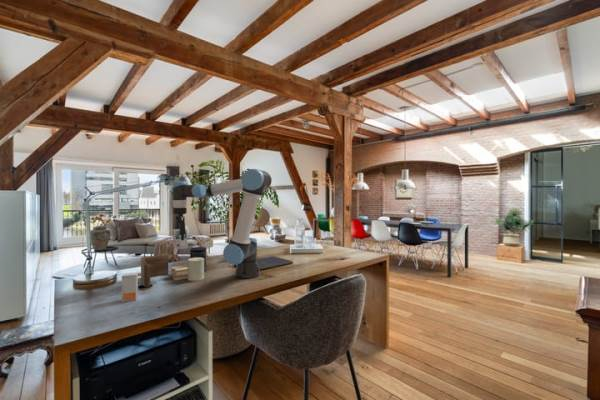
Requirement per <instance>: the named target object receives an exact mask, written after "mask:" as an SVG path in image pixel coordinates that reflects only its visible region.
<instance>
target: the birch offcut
mask: <svg viewBox="0 0 600 400" xmlns="http://www.w3.org/2000/svg"><path fill="white" fill-rule="evenodd" d="M170 273H173V274H175V275H183V274H188V266H185V265H179V266H173V267H171V268H170Z"/></svg>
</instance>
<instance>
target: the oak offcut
mask: <svg viewBox="0 0 600 400" xmlns="http://www.w3.org/2000/svg"><path fill="white" fill-rule="evenodd" d="M170 273H171V272H170ZM170 275H171V278H172V279H173V281H180V280H185V279H186V280H188V274H183V275H175V274H173V273H171V274H170Z"/></svg>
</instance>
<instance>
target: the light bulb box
mask: <svg viewBox="0 0 600 400" xmlns="http://www.w3.org/2000/svg"><path fill="white" fill-rule="evenodd" d="M185 232H186V233H185V246H180V239H179V233H180V230H179V229H175V228H173V229H172V239H173V240H172V242H173V248H174V249H175V250H184V249H188V247H189V245H188V229H185Z"/></svg>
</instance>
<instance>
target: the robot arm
mask: <svg viewBox="0 0 600 400" xmlns="http://www.w3.org/2000/svg"><path fill="white" fill-rule="evenodd" d="M241 176H242V177H241V178H238V179H234V180H233V179H232V180H227V181H222V182H218V183H217V182H216V183H212V184H206V185H205V184H199V183H198V184H197V183H196V184H187V182H186V181H179V180H178V181H173V182H172V202H171V204H172V206H173V208H172V214H173V215H175V216H174V217H175V223H174V224H175V225H174V229H179V230H180V233H179V239H180V246H185V233H186V232H185V230H186V221H185V218H186V217H185V216H184V215H187V212H188V211H187V209H188V208H187V207H188V206H187V203H188V201H187V199H188V198H197V199H198V198H207V199H208V198H213V197H216V196H217V197H218V196H222V195H228V194H229V195H230V194H235V193H240V192H242V193H243V197H242V201H241V205H240V209H239V213H238V217H237V220H236V225H235V229H234V232H233V235H232V236H230V237H229V241H228V244H227V245H226V246H225V247H224V248H223V251H222V256H223V258H224V260H225V261H226V262H227V263H228V264H230V265H233V266H234V265H236V267H235V271H234V277H236V278H238V279H254V278H257V277H259V276H260V275H261V270H260V266H259V264H258V240H257V238H256V237H250V235H251V232H252V227H253V223H254V220H255V215H256V213H257V208H258V204H259V201H260V198H261V197H263V195H264V191H266V190H268V189H269V188H270V187H271V185H272V182H273V181H272V177H271V174H270V172H269V173H268V171H265V170H261V169H258V168H250V169H246V171H245V172H244V173H243V174H242V175H241Z"/></svg>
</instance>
